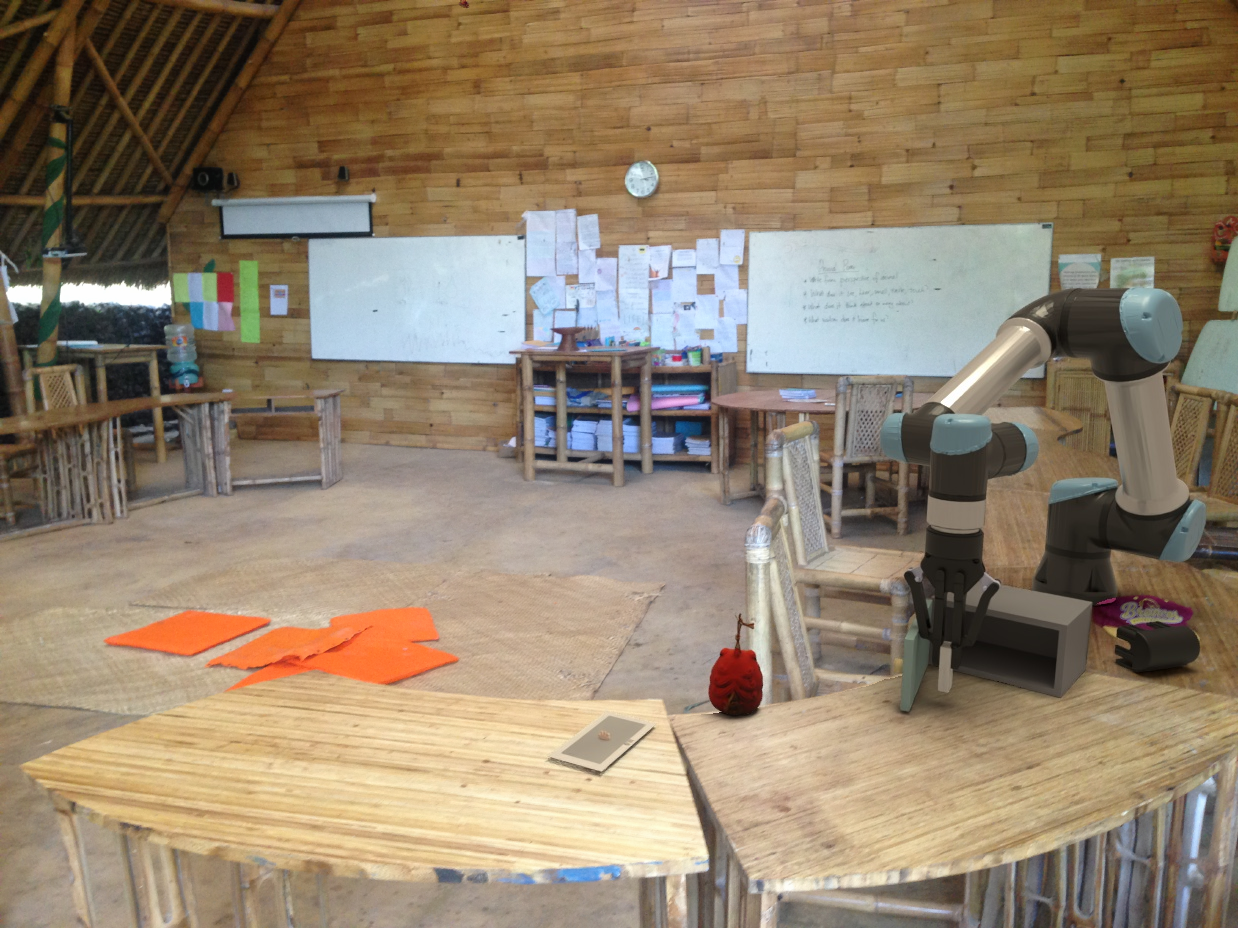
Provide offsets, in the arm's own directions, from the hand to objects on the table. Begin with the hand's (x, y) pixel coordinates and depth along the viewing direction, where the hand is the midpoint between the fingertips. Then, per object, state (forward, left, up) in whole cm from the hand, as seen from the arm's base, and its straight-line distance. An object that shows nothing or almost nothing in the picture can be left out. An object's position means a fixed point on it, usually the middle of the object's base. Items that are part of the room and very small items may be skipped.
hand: (944, 688), depth 132 cm
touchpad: (+40, -29, -3) cm, 50 cm away
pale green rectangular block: (-3, -6, -2) cm, 7 cm away
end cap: (-36, +20, -3) cm, 41 cm away
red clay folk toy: (+20, -22, -3) cm, 30 cm away
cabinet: (-21, +2, -3) cm, 21 cm away
